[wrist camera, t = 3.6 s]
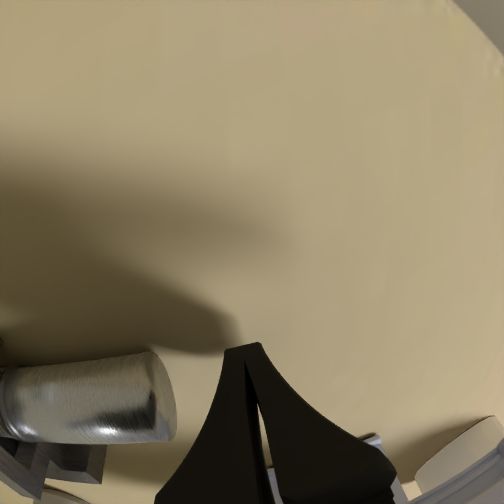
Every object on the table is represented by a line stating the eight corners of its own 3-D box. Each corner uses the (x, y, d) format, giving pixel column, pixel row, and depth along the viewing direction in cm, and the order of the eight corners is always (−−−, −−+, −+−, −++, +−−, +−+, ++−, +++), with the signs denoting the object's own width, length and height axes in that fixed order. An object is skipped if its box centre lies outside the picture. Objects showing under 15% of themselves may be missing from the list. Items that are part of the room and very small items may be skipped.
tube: (147, 329, 11) (134, 403, 8) (178, 391, 13) (177, 459, 9) (-30, 355, 11) (-58, 399, 7) (5, 401, 12) (-14, 447, 9)
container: (509, 408, 26) (571, 499, 7) (453, 466, 30) (498, 552, 12) (462, 426, 22) (536, 551, 4) (394, 487, 27) (441, 596, 9)
